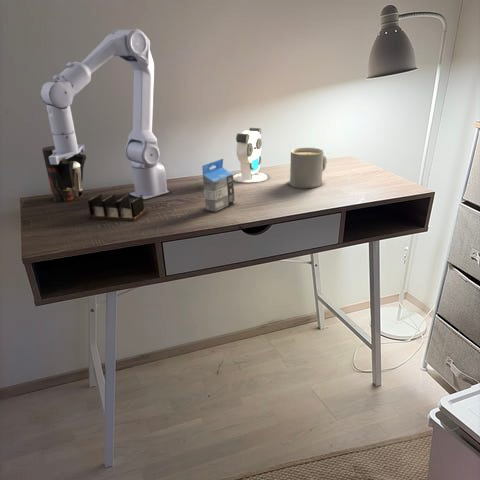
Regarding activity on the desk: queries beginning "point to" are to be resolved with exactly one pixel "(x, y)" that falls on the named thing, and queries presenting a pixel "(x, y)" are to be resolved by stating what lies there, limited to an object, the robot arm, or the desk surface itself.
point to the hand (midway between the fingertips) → (74, 185)
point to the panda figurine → (249, 156)
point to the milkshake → (76, 181)
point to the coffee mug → (307, 167)
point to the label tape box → (217, 186)
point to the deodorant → (55, 179)
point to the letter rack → (116, 208)
